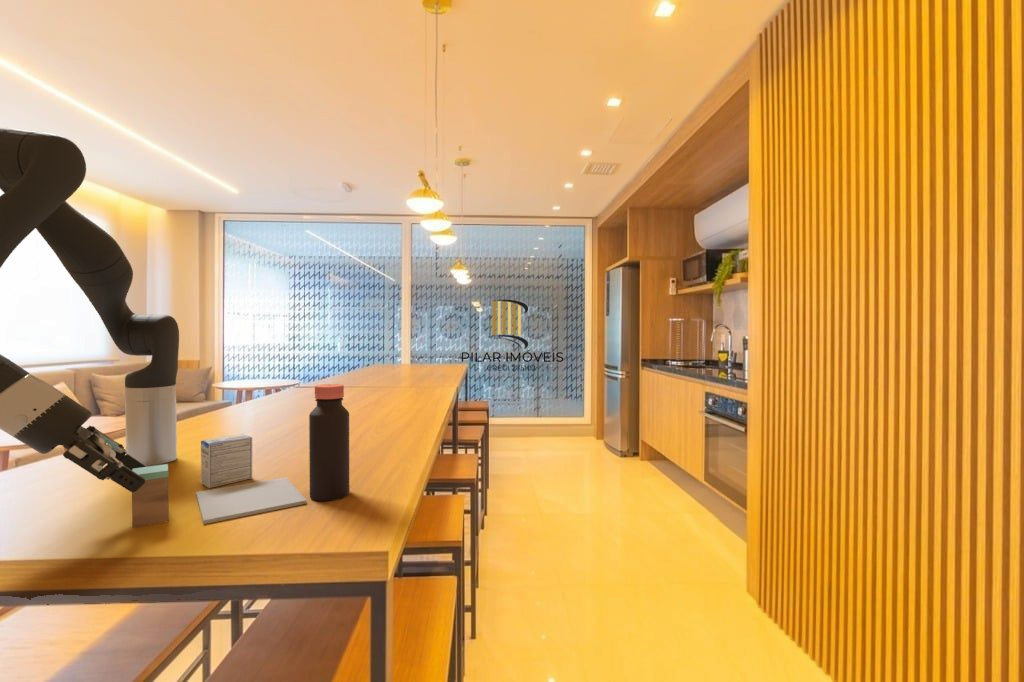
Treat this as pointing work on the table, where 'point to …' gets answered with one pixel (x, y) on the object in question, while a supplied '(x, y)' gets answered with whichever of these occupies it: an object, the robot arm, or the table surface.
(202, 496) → the rubber mat
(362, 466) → the table surface
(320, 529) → the table surface
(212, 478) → the medicine box
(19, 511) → the table surface
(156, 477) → the walnut block
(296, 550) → the table surface
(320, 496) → the bottle
